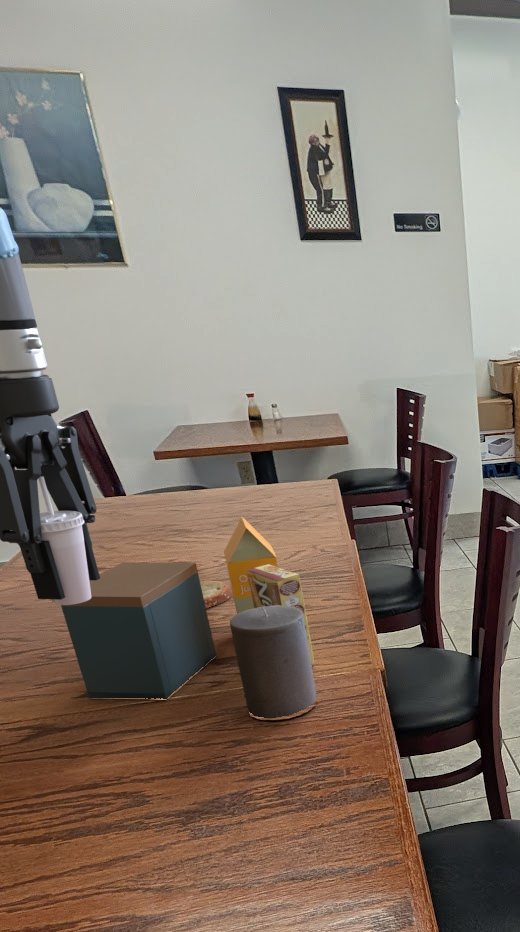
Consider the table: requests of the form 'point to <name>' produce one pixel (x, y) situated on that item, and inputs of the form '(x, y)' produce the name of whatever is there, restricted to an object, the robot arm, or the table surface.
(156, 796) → the table surface
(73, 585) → the smoothie
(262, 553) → the orange juice
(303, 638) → the pillar candle
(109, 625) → the lidded gift box
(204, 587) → the slice of bread
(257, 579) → the candy box
